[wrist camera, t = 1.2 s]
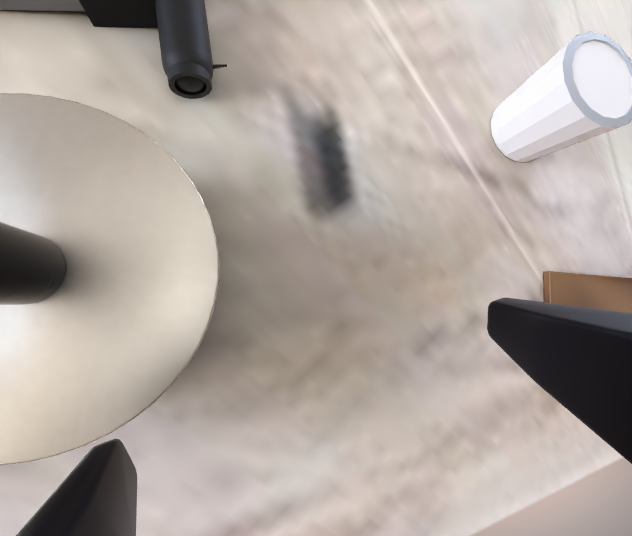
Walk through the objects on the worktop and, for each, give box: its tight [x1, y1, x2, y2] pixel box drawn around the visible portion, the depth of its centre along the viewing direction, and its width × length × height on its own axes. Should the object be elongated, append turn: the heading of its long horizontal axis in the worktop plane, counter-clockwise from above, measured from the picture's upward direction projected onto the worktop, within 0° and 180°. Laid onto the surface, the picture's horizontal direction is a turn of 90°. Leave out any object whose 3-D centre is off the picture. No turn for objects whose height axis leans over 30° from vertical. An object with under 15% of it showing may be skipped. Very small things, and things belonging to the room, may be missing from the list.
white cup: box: [491, 32, 632, 162], centre depth 25 cm, size 7×7×7 cm
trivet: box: [544, 271, 632, 313], centre depth 28 cm, size 10×10×1 cm
